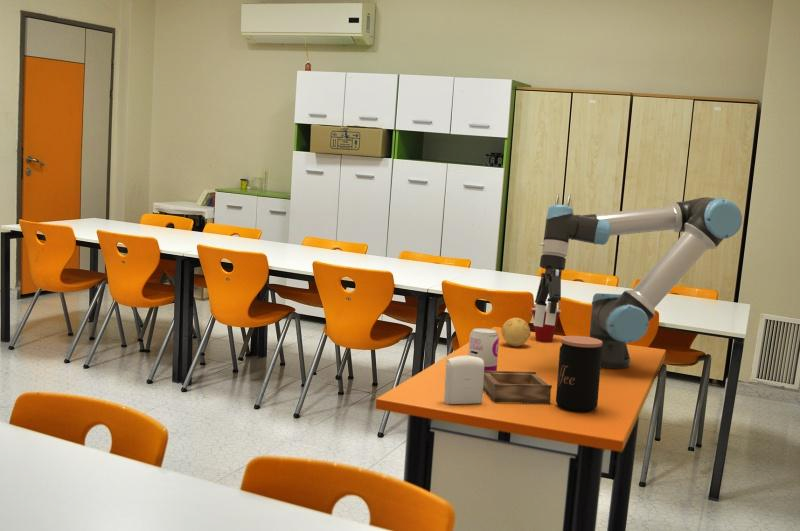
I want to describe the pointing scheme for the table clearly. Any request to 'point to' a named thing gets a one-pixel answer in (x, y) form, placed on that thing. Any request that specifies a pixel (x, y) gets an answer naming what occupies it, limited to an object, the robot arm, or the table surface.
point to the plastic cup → (545, 328)
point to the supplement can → (485, 347)
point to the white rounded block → (464, 380)
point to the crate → (516, 387)
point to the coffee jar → (578, 373)
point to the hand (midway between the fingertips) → (543, 325)
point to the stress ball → (515, 331)
